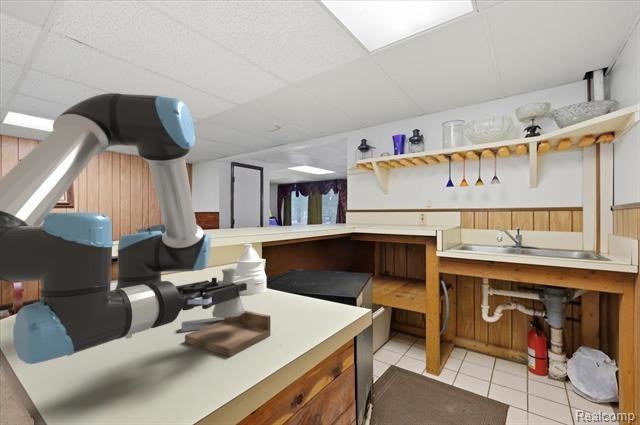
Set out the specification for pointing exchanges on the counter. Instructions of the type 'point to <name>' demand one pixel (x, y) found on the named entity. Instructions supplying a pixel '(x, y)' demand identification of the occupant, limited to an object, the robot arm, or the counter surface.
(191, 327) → the grey rectangular bar
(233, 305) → the flask
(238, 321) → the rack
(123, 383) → the counter surface
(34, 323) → the robot arm
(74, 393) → the counter surface
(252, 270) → the honey pot
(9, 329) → the counter surface
